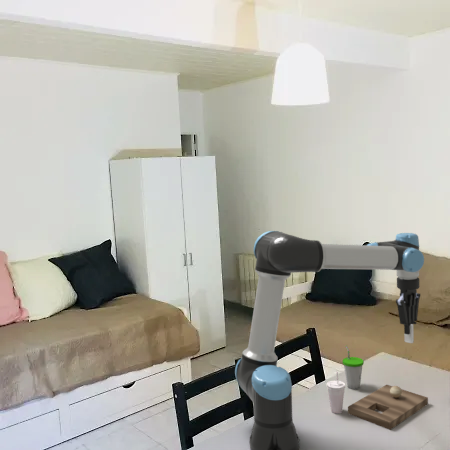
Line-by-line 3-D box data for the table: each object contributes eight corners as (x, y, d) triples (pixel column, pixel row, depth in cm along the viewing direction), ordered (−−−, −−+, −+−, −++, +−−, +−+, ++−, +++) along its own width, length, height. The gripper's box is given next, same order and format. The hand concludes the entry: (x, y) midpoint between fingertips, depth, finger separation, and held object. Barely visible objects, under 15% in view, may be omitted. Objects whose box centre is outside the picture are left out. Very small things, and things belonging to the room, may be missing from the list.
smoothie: (346, 415, 174) (345, 375, 173) (327, 414, 176) (325, 375, 174) (345, 407, 181) (344, 368, 179) (327, 406, 182) (325, 367, 180)
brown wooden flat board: (390, 429, 164) (390, 422, 163) (348, 413, 176) (347, 406, 175) (427, 404, 179) (427, 397, 179) (386, 391, 191) (386, 384, 191)
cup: (365, 391, 192) (364, 352, 190) (343, 391, 193) (342, 352, 192) (363, 382, 200) (362, 345, 198) (342, 382, 201) (341, 345, 199)
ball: (398, 400, 178) (398, 389, 177) (387, 397, 181) (387, 386, 180) (404, 397, 180) (404, 386, 180) (394, 393, 183) (393, 382, 183)
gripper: (408, 282, 175) (409, 349, 177) (427, 275, 183) (428, 339, 186) (388, 279, 180) (389, 344, 183) (407, 272, 189) (408, 335, 192)
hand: (409, 341), depth 184 cm, fingers closed
